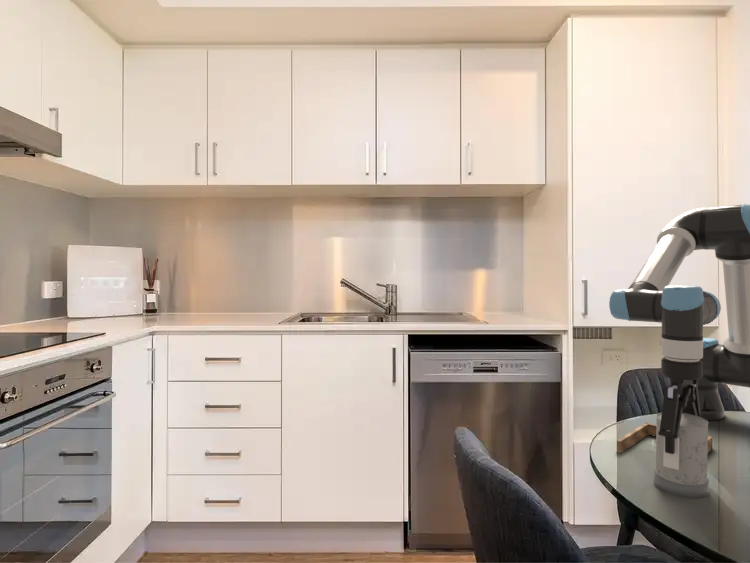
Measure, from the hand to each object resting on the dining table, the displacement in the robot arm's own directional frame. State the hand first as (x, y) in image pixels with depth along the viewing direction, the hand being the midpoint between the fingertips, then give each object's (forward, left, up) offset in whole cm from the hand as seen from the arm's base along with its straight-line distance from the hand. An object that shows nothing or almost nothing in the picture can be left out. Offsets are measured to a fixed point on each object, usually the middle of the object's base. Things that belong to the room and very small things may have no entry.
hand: (680, 459), depth 108 cm
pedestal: (0, 0, -6) cm, 6 cm away
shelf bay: (-19, -10, -6) cm, 23 cm away
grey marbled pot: (0, 0, -4) cm, 4 cm away
